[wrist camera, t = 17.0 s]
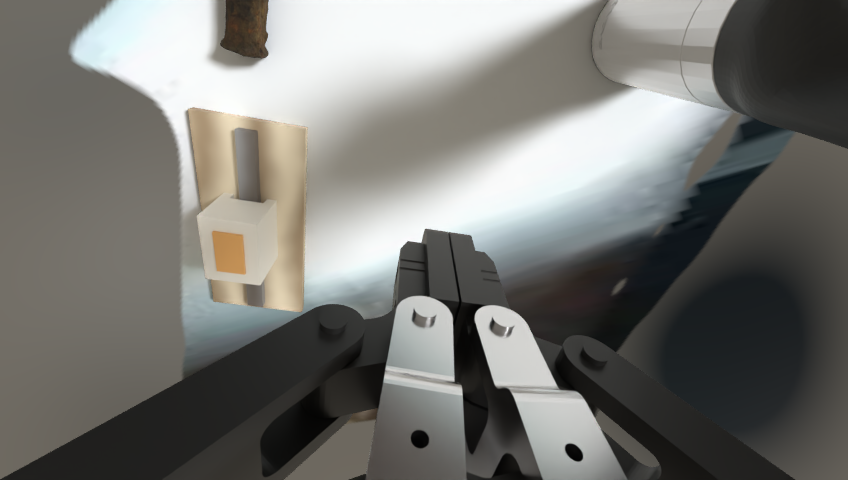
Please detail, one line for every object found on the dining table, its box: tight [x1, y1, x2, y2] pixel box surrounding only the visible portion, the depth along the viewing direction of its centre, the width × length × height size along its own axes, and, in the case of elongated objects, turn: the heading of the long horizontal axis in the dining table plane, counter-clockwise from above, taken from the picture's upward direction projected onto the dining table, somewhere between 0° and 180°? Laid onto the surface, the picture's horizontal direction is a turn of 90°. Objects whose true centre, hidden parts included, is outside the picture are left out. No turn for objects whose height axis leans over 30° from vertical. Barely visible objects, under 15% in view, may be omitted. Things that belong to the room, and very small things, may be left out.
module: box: [197, 193, 278, 285], centre depth 42 cm, size 6×8×6 cm
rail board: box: [188, 108, 308, 312], centre depth 45 cm, size 12×26×2 cm, turn 170°
